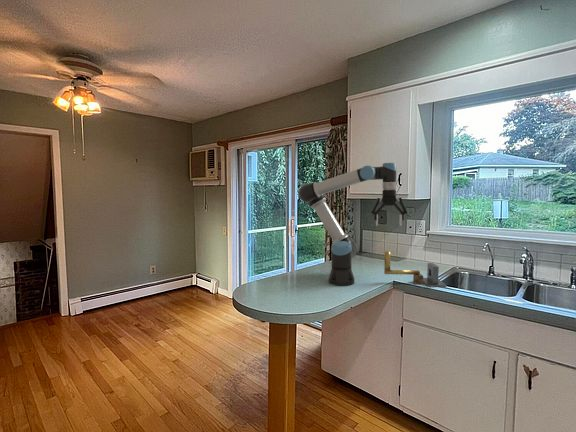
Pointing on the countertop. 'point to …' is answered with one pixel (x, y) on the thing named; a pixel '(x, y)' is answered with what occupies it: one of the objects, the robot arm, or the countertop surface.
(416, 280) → the rest block
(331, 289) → the countertop surface
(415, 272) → the hook rod
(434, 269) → the grey upright block
